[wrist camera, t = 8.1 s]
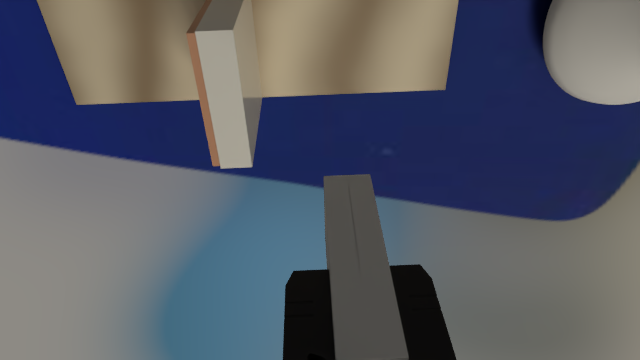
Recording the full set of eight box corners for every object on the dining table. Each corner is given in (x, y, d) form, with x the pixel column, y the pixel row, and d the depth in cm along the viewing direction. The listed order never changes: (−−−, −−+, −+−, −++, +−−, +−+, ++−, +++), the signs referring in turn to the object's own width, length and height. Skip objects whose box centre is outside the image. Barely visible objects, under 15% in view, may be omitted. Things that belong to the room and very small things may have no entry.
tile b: (231, 98, 30) (212, 168, 23) (213, -16, 25) (185, 31, 19) (262, 97, 30) (252, 167, 23) (249, -17, 25) (233, 29, 19)
